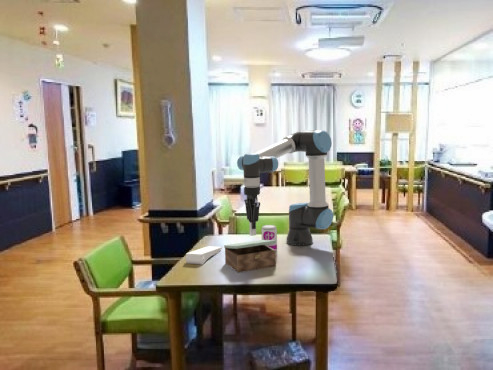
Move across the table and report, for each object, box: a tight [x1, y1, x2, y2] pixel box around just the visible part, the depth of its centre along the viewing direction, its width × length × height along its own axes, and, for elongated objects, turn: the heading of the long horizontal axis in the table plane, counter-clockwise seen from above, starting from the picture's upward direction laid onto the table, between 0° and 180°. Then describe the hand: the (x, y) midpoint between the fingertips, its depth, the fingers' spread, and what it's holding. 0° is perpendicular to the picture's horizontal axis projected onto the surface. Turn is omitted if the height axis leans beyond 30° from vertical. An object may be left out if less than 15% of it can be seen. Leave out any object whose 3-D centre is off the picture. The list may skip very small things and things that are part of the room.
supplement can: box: [261, 224, 278, 254], centre depth 232 cm, size 8×8×15 cm
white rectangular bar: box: [185, 245, 223, 265], centre depth 231 cm, size 10×7×28 cm
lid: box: [223, 239, 276, 249], centre depth 214 cm, size 21×16×1 cm
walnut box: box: [224, 245, 277, 274], centre depth 214 cm, size 20×17×8 cm
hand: (252, 235), depth 209 cm, fingers closed
